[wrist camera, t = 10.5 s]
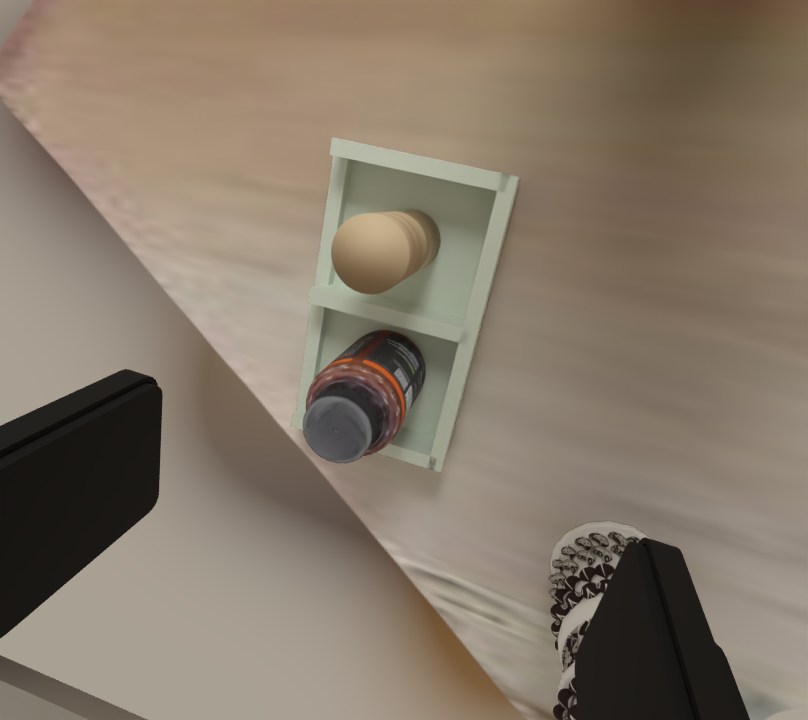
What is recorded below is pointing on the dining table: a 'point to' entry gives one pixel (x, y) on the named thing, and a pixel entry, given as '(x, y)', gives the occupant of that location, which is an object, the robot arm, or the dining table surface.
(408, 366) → the supplement bottle
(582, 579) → the decorative candle
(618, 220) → the dining table surface
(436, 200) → the rack
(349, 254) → the beige rounded cylinder
